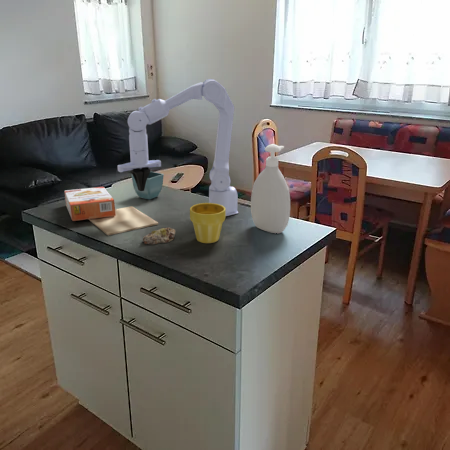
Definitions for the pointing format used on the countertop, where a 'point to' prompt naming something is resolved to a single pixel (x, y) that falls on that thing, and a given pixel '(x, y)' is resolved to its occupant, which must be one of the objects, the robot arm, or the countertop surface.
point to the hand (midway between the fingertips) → (141, 190)
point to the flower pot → (150, 186)
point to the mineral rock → (159, 236)
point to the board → (123, 221)
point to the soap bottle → (271, 196)
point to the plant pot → (207, 221)
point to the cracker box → (89, 203)
